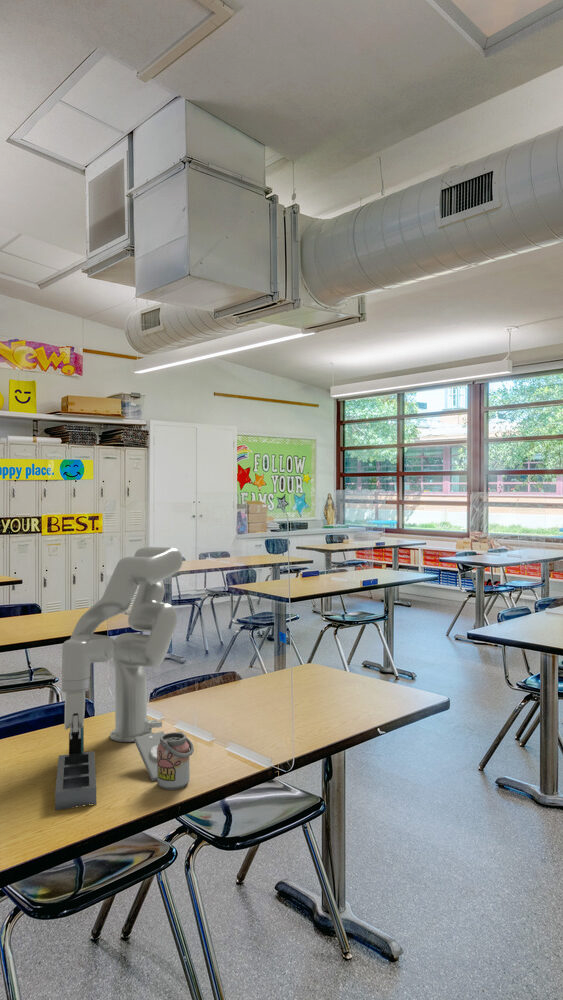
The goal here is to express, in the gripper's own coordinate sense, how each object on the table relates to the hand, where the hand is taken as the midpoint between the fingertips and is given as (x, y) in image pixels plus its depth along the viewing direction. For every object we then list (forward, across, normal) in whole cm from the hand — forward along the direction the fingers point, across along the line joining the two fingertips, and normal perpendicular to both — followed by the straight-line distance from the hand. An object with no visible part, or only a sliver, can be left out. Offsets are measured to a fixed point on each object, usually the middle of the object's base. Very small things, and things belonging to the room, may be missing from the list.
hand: (75, 749), depth 174 cm
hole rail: (+4, +16, 0) cm, 17 cm away
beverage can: (+4, +23, +24) cm, 34 cm away
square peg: (+4, -1, 0) cm, 4 cm away
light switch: (+4, +13, +21) cm, 25 cm away
